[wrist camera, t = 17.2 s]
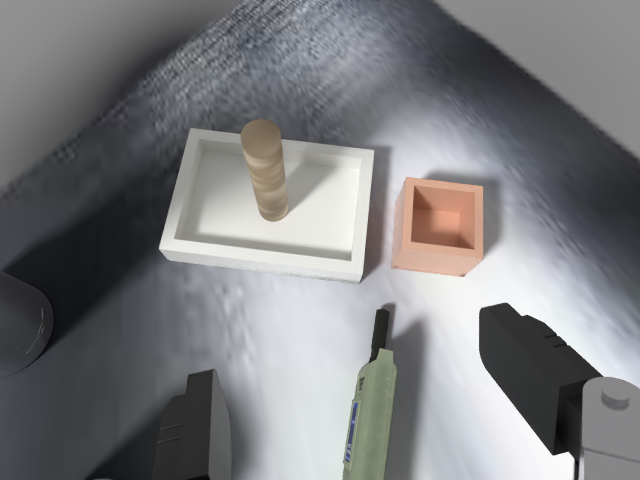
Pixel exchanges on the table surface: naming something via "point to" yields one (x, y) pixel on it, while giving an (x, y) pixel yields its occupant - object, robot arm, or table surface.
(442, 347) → the table surface
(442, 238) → the pot
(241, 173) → the tray
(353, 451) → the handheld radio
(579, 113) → the table surface
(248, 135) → the dowel pin
